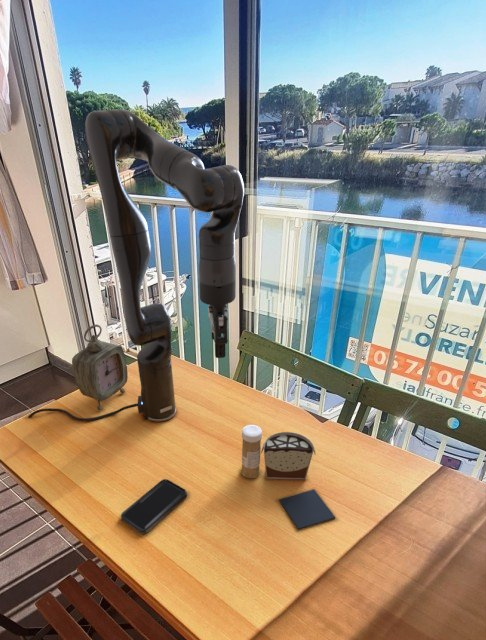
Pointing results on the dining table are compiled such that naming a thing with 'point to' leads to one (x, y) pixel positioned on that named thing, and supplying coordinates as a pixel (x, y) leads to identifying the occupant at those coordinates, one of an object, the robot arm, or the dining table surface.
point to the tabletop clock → (100, 369)
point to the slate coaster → (306, 509)
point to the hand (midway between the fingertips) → (218, 347)
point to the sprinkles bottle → (251, 450)
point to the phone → (154, 506)
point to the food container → (287, 455)
